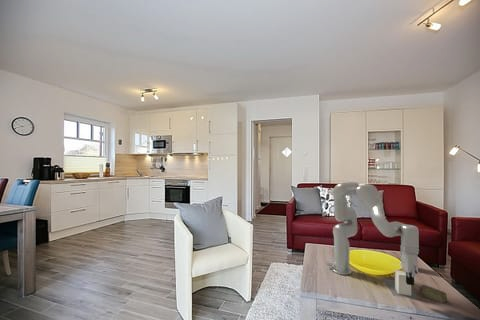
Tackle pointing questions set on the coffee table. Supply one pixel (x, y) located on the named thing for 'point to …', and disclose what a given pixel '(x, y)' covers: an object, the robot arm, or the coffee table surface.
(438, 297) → the stone block
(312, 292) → the coffee table surface
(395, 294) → the rubber mat
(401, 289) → the cream rectangular block
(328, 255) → the coffee table surface
